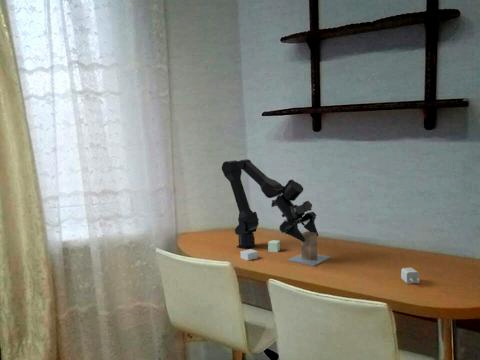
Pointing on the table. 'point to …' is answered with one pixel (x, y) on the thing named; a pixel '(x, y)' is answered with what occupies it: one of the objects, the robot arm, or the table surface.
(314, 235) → the walnut pillar
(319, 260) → the slate coaster
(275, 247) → the pale green cube
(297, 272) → the table surface
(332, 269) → the table surface
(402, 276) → the usb wall charger
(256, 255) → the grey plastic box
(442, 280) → the table surface
